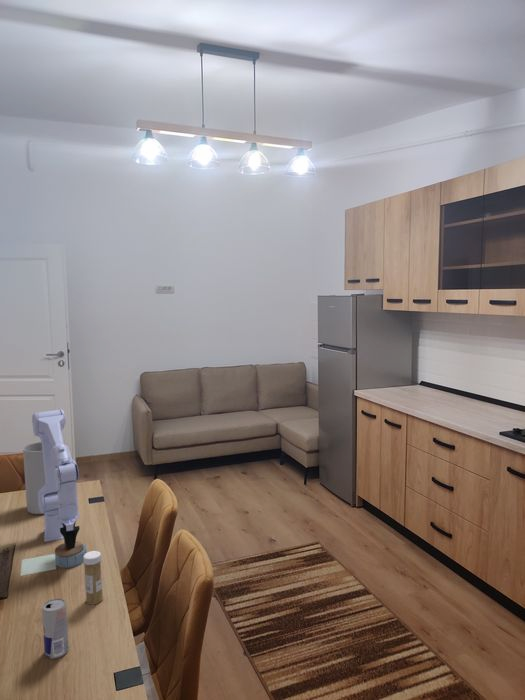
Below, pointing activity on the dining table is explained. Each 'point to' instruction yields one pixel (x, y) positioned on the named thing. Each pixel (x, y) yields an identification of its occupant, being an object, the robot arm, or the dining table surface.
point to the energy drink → (55, 628)
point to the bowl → (71, 559)
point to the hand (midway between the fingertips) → (70, 542)
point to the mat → (38, 564)
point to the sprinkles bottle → (93, 577)
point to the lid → (68, 550)
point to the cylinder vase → (33, 475)
